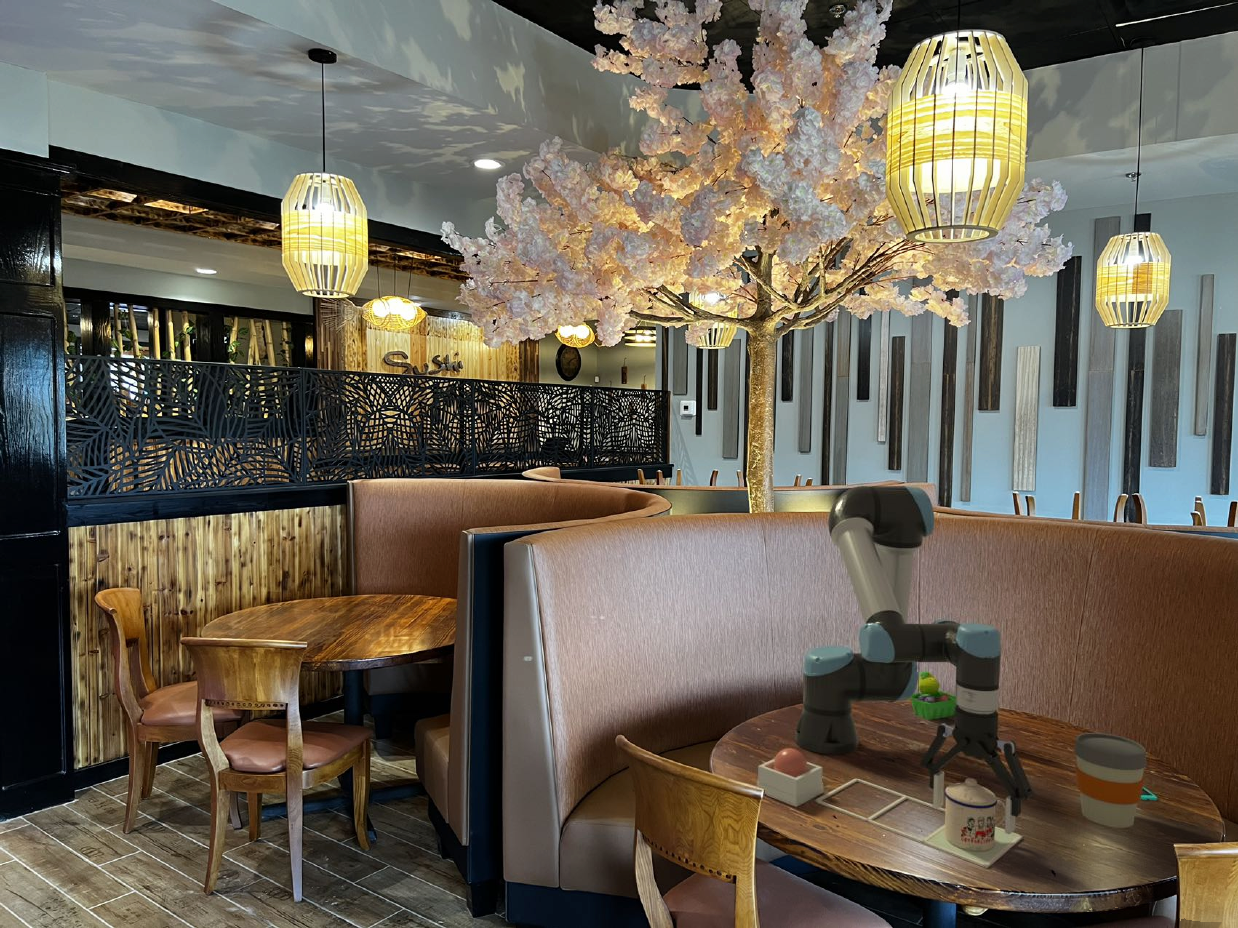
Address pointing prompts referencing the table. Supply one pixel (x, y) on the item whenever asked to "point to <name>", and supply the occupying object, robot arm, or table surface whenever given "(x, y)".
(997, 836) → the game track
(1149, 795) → the handheld game console
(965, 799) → the teacup with lid
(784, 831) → the table surface
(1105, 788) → the reusable coffee cup
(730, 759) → the table surface
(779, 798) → the grey square box
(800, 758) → the red ball
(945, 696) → the fruit basket
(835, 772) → the table surface
